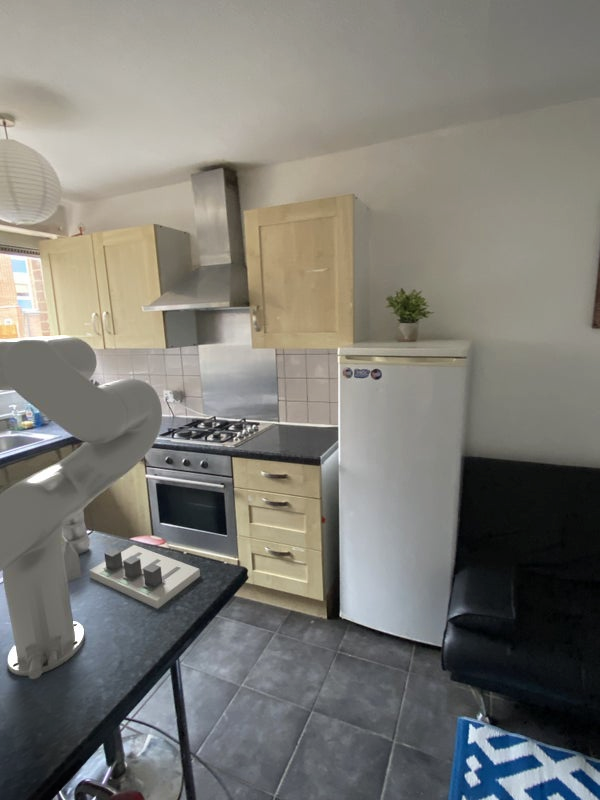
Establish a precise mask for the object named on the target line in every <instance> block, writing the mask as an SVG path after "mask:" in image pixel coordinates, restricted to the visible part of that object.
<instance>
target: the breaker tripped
mask: <svg viewBox="0 0 600 800" xmlns="http://www.w3.org/2000/svg"><path fill="white" fill-rule="evenodd" d="M121 552H122V551H120V550H118V549H115V548H111V549H110V550H108V551H106V552H104V560H105V561H104V562H106V567H105V568H103V569H104V570H106V571H109V572H111V573H114V572H116V571H117V570H119V569H121V568H122V567H124V564H122V557H121Z"/></svg>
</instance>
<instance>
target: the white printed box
mask: <svg viewBox="0 0 600 800" xmlns="http://www.w3.org/2000/svg"><path fill="white" fill-rule="evenodd" d="M62 546H63V556H64V563H65V571H66V577H67V583H68V582H71V581H73V580H75V579H78V578H81V577H82V572H81V564H80V558H79V555H78V554H77V552H76V551H75V549H74V548H73V546H72V545H71V544H70V543H69V541H68V540H67V539H66V538H65V537H64V535H63V533H62Z"/></svg>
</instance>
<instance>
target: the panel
mask: <svg viewBox="0 0 600 800" xmlns="http://www.w3.org/2000/svg"><path fill="white" fill-rule="evenodd" d="M130 556H134V557H137V558H139V559H140V562H141V570H142V571H143V569H144V568H145V567H147V566H148V565H150V564H155V565H157V566H160V567H161V574H162V580H165V582H164V583H163V584H161V585H160V586H158V587H157V588H156V589H154V590H151V589H148V588H146V587H144V586H142V585H143V584H144V583H145V580H144V574H143V575H141V576H140V577H138V578H137V579H135V580H134V581H130V580H128V579H125V578H123V577H122V576H123V575H125V571H124V567H122V568H121V569H119V570H117V571H116V572H114V573H111V572H109V571H106V570H104V569H103V568H105V567H106V562H105V561H103V562H101V563H99V564H98V565H96V566H95V567H93V568H91V569H89V578H91V579H92V580H95V581H97V582H99V583H101V584H102V585H105V586H107V587H110V588H111V589H114V590H117V591H118V592H120V593H123V594H124V595H127V596H129V597H131V598H134V599H136V600H138V601H140V602H142V603H144V604H146V605H149V606H151V607H153V608H155V609H157V610H158V609H159V608H161V607H163V605H164V604H166V603H167V602H169V600H171V599H172V598H174V597H175V596H176V595H178V594H179V593H181V592H182V591H183V590H185V589H186V588H187V587H188V586H189V585H190V584H192V583H194V581H196V580H197V579H198V578H199V577H201V572H200V568H198V567H195V566H193V565H190V564H187V563H184V562H182V561H179V560H176V559H174V558H172V557H171V558H170V557H168V556H165V555H163V554H160V553H158V552H157V553H156V552H154V551H153V550H152V551H151V550H149V549H146V548H143V547H141V546H138V545H136V544H133V545H131V546H130V547H128V548H126V549H124V550H122V551H121V557H122V564H124V563H123V561H124V560H125V559H127V558H129V557H130Z"/></svg>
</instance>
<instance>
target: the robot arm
mask: <svg viewBox="0 0 600 800" xmlns="http://www.w3.org/2000/svg"><path fill="white" fill-rule="evenodd" d="M97 361H98V360H97V356H96V354H95V351H94V349H93V348H92V347H91V345H90V344H88V343H87V341H85V340H83V339H81V338H78V337H75V336H70V335H53V336H35V337H32V336H31V337H19V338H5V339H3V338H2V339H1V338H0V391H4V392H5V391H15V392H16V393H17V394H18V395H19V396H20V397H21V398H22V399H24V400H25V401H26V402H28V403H29V404H30V405H31V406H33V407H34V408H35V409H37V410H38V411H39V412H40V413H42V414H43V415H45V416H46V417H47V418H48V419H49V420H51V421H52V422H53V423H55V424H56V425H58V426H59V427H60V428H62V429H63V430H64V431H65V432H66V433H68V434H69V435H71V436H72V437H74V438H76V439H78V440H80V441H82V442H83V443H82V444H81V445H80V446H79V447H77V448H76V449H75V450H73V451H72V452H71V453H70V454H68V455H66V457H64V458H63V459H61V460H59V461H58V462H56V463H54V464H52V465H49V466H48V467H46V468H42V469H41V470H39V471H37V472H35V473H33V474H32V475H30V476H28V477H25V478H24V479H22V480H20V481H18V482H16V483H15V484H12V486H9V488H7V489H5V490H4V491H3V492H1V493H0V572H2V581H3V585H4V586H3V587H4V593H5V598H6V604H7V610H8V613H9V620H10V625H11V629H12V636H13V641H14V644H13V646H12V648H10V650H9V652H8V655H7V658H6V663H7V667H8V670H9V671H10V672H11V673H12V674H15V675H17V676H21V677H27V676H28V678H29V679H30V680H35V679H38V678H39V677H41V675H42V674H43V673H46V672H49V671H51V670H54V669H55V668H57V667H59V666H61V665H62V664H64V663H65V662H67V661H68V660H70V658H72V657H73V656H74V655H75V654H77V652H78V651H79V650H80V649H81V647H82V645H83V643H84V642H85V637H86V635H85V629H84V626H83V625H82V624H81V623H80V622H78V621H74V618H73V609H72V603H71V597H70V591H69V586H68V582H67V577H66V571H65V563H64V556H63V546H62V534H63V533H62V532H63V525H64V524H66V523H67V522H68V521H70V520H71V519H72V518H74V517H75V516H76V515H77V514H79V513H80V512H81V511H82V510H83V509H85V508H86V507H87V506H88V505H90V503H92V501H94V500H95V499H96V498H97V497H99V496H100V494H102V493H104V492H105V491H107V490H108V489H109V488H110V487H111V486H113V485H114V484H115V483H116V482H117V481H119V480H120V479H121V478H122V477H124V476H125V475H126V474H128V473H129V472H130V471H132V469H134V468H135V466H137V465H138V464H139V463H140V462H141V461H142V460H143V459H144V458H145V457H146V455H147V454H148V453H149V451H150V450H151V448H152V447H153V446H154V443H156V441H157V438H158V436H159V434H160V430H161V427H162V422H163V421H162V420H163V410H162V404H161V403H162V402H161V400H160V397H159V394H158V393H157V391H156V390H155V389H154V387H153V386H152V385H150V384H149V383H148V382H146V381H143V380H141V379H135V378H123V379H117V380H114V381H110V382H106V383H103V384H100V385H99V384H98V385H96V384H95V383H94V382H92V381H91V380H90V379H91V377H92V376H93V375H94V373H95V371H96V369H97V365H98V363H97ZM83 511H84V510H83Z"/></svg>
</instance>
